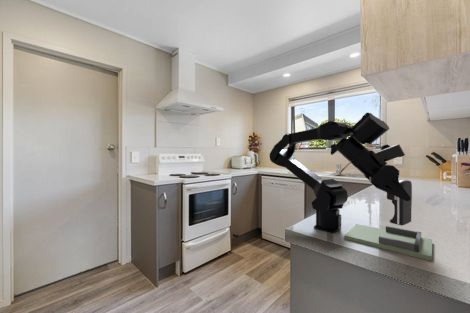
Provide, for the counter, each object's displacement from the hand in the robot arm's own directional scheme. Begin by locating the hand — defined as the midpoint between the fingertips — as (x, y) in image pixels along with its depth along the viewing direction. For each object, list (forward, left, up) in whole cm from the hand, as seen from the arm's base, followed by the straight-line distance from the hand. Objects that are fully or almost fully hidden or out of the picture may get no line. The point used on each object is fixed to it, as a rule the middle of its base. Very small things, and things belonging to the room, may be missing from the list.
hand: (405, 197), depth 56 cm
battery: (-1, 0, -7) cm, 7 cm away
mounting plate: (-4, -1, -12) cm, 13 cm away
